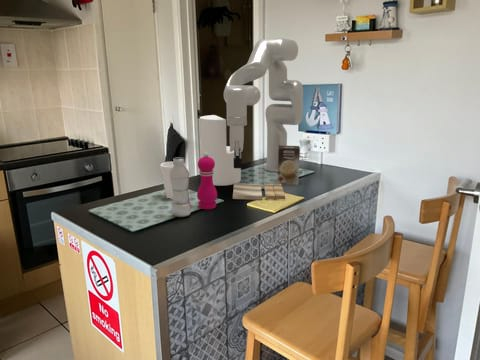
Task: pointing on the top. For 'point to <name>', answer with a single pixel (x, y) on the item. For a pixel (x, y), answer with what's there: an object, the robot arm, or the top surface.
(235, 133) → the robot arm
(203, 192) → the pepper mill
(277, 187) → the oak floorboards
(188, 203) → the plastic bottle
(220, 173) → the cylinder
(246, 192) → the birch plank
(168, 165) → the foam cup
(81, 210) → the top surface
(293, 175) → the coffee box
